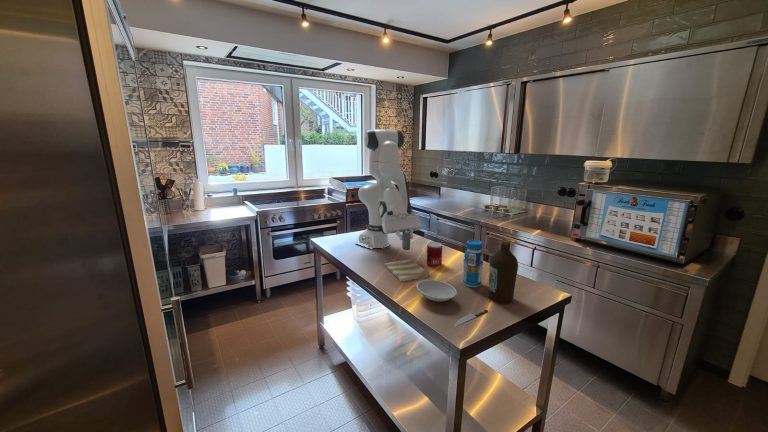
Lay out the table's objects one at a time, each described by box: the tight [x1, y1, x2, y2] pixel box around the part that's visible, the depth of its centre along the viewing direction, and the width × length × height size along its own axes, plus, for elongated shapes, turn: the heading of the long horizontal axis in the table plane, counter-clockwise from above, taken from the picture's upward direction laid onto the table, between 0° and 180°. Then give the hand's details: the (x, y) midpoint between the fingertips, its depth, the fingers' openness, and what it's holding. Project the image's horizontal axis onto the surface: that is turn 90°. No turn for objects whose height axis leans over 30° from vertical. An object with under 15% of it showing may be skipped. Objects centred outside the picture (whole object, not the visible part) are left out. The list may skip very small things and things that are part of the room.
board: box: [384, 258, 430, 282], centre depth 150 cm, size 20×15×2 cm
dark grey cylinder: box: [401, 230, 411, 251], centre depth 146 cm, size 4×4×9 cm
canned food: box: [426, 241, 443, 268], centre depth 158 cm, size 8×8×11 cm
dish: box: [415, 279, 458, 303], centre depth 122 cm, size 18×14×5 cm
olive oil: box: [488, 239, 519, 305], centre depth 120 cm, size 11×11×25 cm
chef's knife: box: [454, 309, 489, 327], centre depth 110 cm, size 19×1×3 cm
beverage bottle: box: [462, 239, 484, 288], centre depth 134 cm, size 8×8×20 cm
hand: (406, 238), depth 146 cm, fingers closed on dark grey cylinder, 4 cm apart
